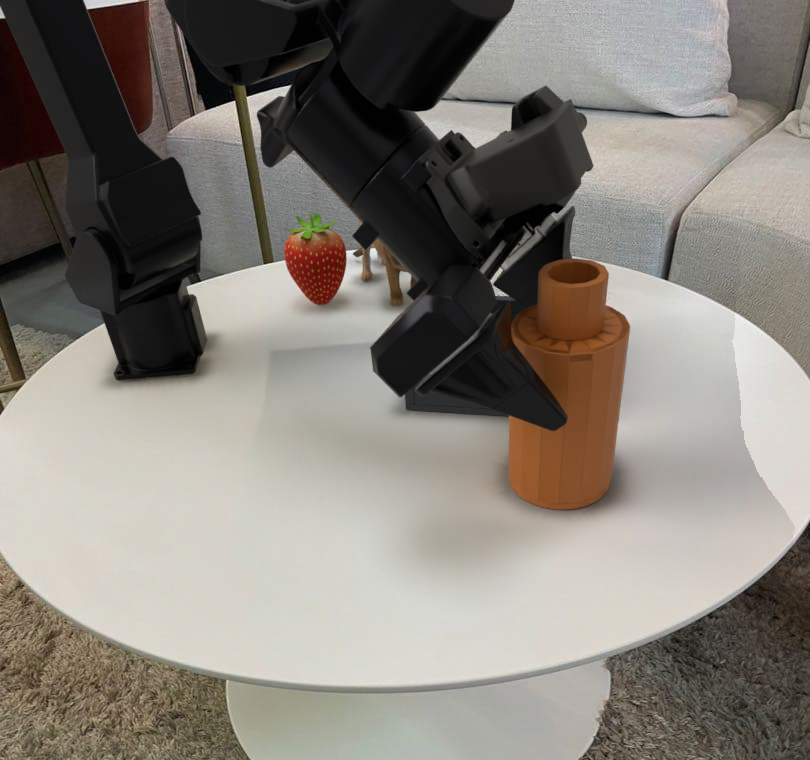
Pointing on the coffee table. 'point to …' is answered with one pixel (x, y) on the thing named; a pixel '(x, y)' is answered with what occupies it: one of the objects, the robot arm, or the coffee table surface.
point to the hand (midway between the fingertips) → (582, 381)
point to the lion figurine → (391, 268)
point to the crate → (451, 404)
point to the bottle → (570, 386)
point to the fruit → (316, 259)
